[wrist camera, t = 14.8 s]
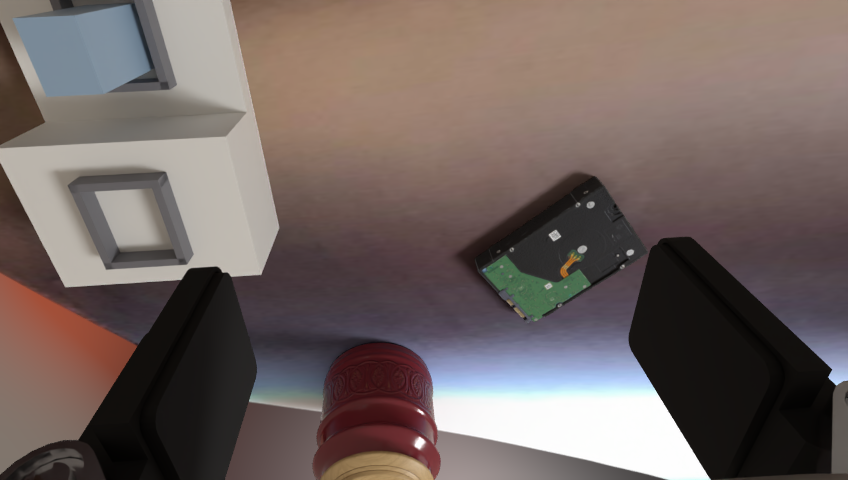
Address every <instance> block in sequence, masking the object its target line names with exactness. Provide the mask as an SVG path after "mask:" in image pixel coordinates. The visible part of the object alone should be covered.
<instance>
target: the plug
mask: <svg viewBox="0 0 848 480" xmlns="http://www.w3.org/2000/svg"><path fill="white" fill-rule="evenodd" d="M12 19H13V21H14V23H15V26H16V28H17V30H18V32H19V35H20V37H21V39H22V42H23V44H24V46H25V49H26V51H27V53H28V55H29V58H30V60H31V62H32V65H33V67H34V69H35V71H36V74H37V76H38V78H39V81H40V83H41V85H42V87H43V90H44V92H45V94H46V97H55V96H76V95H96V94H105V93H107V92H109V91H111V90H113V89H115V88H117V87H119V86H121V85H123V84H125V83H127V82H129V81H131V80H133V79H135V78H137V77H139V76H141V75H143V74H145V73H147V72H149V71H151V70H153V69H155V67H154V64H153V60H152V57H151V54H150V51H149V48H148V44H147V41H146V38H145V35H144V31H143V28H142V25H141V22H140V19H139V15H138V12H137V9H136V6H135V3H119V4H95V5H83V6H77V7H72V8H66V9H61V10H55V11H49V12H44V13H38V14H33V15H27V16H21V17H16V18H12Z"/></svg>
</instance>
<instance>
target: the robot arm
mask: <svg viewBox="0 0 848 480" xmlns="http://www.w3.org/2000/svg"><path fill="white" fill-rule="evenodd" d="M629 345H630V348H631V351H632V352H633V354H634V356H635V357H636V359H637V361H638V362H639V364H640V365H641V367H642V369H643V370H644V372H645V374H646V375H647V377H648V379H649V380H650V382H651V383H652V385H653V387H654V388H655V390H656V392H657V393H658V395H659V396H660V398H661V400H662V401H663V403H664V405H665V406H666V408H667V410H668V411H669V413H670V414H671V416H672V418H673V419H674V421H675V423H676V424H677V426H678V428H679V429H680V431H681V432H682V434H683V436H684V437H685V439H686V441H687V442H688V444H689V445H690V447H691V449H692V450H693V452H694V454H695V455H696V457H697V459H698V460H699V462H700V463H701V465H702V467H703V468H704V470H705V472H706V473H707V475H708V476H709V478H710V479H711V480H848V381H843V382H842V383H840V384H838V385H837V386H836V385H835V384H834V383H833V382H832V381H831V380H830V379H829V378H828V376H829V374H830V372H831V371H832V369H831V368H830V367H829V366H828V365H827V364H826V363H825V362H824V361H823V360H822V359H821V358H819V357H818V356H817V355H816V354H815V353H814V352H813V351H812V350H811V349H810V348H809V347H808V346H807V345H806V344H805V343H803V342H802V341H801V340H800V339H799V338H798V337H797V336H796V335H795V334H794V333H793V332H792V331H791V330H790V329H789V328H788V327H786V326H785V325H784V324H783V323H782V322H781V321H780V320H779V319H778V318H777V317H776V316H775V315H774V314H773V313H772V312H770V311H769V310H768V309H767V308H766V307H765V306H764V305H763V304H762V303H761V302H760V301H759V300H758V299H757V298H756V297H754V296H753V295H752V294H751V293H750V292H749V291H748V290H747V289H746V288H745V287H744V286H743V285H742V284H741V283H740V282H739V281H737V280H736V279H735V278H734V277H733V276H732V275H731V274H730V273H729V272H728V271H727V270H726V269H725V268H724V267H723V266H721V265H720V264H719V263H718V262H717V261H716V260H715V259H714V258H713V257H712V256H711V255H710V254H709V253H708V252H707V251H706V250H704V249H703V248H702V247H701V246H700V245H699V244H698V243H697V242H696V241H695V240H694V239H692V238H691V237H675V238H663V239H661V240H660V241H659V242H658V244H657V245H654V246H653V247H652V248H651V250H650V253H649V257H648V261H647V265H646V269H645V273H644V277H643V281H642V285H641V289H640V293H639V297H638V301H637V305H636V309H635V313H634V316H633V320H632V324H631V328H630V332H629ZM256 373H257V365H256V360H255V356H254V353H253V350H252V346H251V343H250V339H249V336H248V333H247V329H246V326H245V322H244V319H243V316H242V312H241V309H240V306H239V302H238V299H237V295H236V292H235V289H234V285H233V282H232V278H231V276H230V274H229V273H227V272H224V273H222V270H221V269H220V268H219V267H217V266H214V267H198V268H190V269H188V270H187V272H186V273H185V275H184V276H183V278H182V280H181V281H180V283H179V284H178V286H177V288H176V289H175V291H174V292H173V294H172V296H171V297H170V299H169V300H168V302H167V304H166V305H165V307H164V308H163V310H162V312H161V313H160V315H159V317H158V318H157V320H156V321H155V323H154V325H153V326H152V328H151V329H150V331H149V333H147V334H146V335H145V336H144V337H143V339H142V340H141V342H140V343H139V345H138V346H137V348H136V350H135V351H134V353H133V354H132V356H131V358H130V359H129V361H128V362H127V364H126V366H125V367H124V369H123V370H122V372H121V373H120V375H119V377H118V378H117V380H116V382H115V383H114V384H113V386H112V388H111V389H110V391H109V392H108V394H107V396H106V397H105V399H104V400H103V402H102V404H101V405H100V407H99V408H98V410H97V411H96V413H95V415H94V416H93V418H92V420H91V421H90V423H89V424H88V426H87V427H86V429H85V430H84V432H83V434H82V435H81V437H80V438H79V440H63V441H59V442H55V443H50V444H47V445H45V446H43V447H41V448H38V449H36V450H34V451H31V452H30V453H28V454H27V455H25V456H23V457H22V458H20V459H19V460H17V461H15V462H14V463H13V464H12V465H11V466H10V467H8V468H7V469H6V470H5V471H4V472H3V473H2V474H0V480H225V477H226V474H227V470H228V467H229V464H230V461H231V457H232V454H233V451H234V448H235V444H236V441H237V438H238V434H239V431H240V428H241V424H242V421H243V418H244V415H245V412H246V408H247V405H248V402H249V399H250V395H251V392H252V389H253V386H254V382H255V379H256Z"/></svg>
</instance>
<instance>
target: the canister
mask: <svg viewBox="0 0 848 480" xmlns="http://www.w3.org/2000/svg"><path fill="white" fill-rule="evenodd" d="M432 397H433V386H432V379H431V376H430V373H429V371H428V368H427V366H426V364H425V363H424V361H423V360H422V359H421V358H420V357H419V356H418V355H417V354H416V353H414V352H413V351H411V350H409V349H407V348H405V347H402V346H399V345H395V344H390V343H369V344H364V345H360V346H357V347H354V348H352V349H350V350H348V351H346V352H344V353H343V354H342V355H340V356H339V357H338V358H337V359H336V360H335V361H334V362H333V364H332V365H331V367H330V369H329V372H328V374H327V376H326V379H325V383H324V389H323V398H324V400H323V407H322V415H321V421H320V426H319V428H318V432H317V444H318V448H319V449H318V450H317V452H316V454H315V456H314V459H313V473H314V476H315V478H316V480H435V478H436V477H437V475H438V473H439V470H440V465H441V460H440V455H439V452H438V450H437V448H436V446H435V445H436V442H437V438H438V437H437V436H438V430H437V426H436V423H435V419H434V409H433V399H432Z"/></svg>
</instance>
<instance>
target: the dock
mask: <svg viewBox="0 0 848 480" xmlns="http://www.w3.org/2000/svg"><path fill="white" fill-rule="evenodd" d="M119 3H135V6H136V9H137V12H138V15H139V19H140V22H141V25H142V28H143V31H144V35H145V38H146V41H147V44H148V48H149V51H150V54H151V57H152V60H153V64H154V67H155V69H153V70H151V71H149V72H147V73H145V74H143V75H141V76H139V77H137V78H135V79H133V80H131V81H129V82H127V83H125V84H123V85H121V86H119V87H117V88H115V89H113V90H111V91H109V92H107V93H105V94H96V95H76V96H55V97H46V94H45V92H44V90H43V87H42V85H41V83H40V81H39V78H38V76H37V74H36V71H35V69H34V67H33V65H32V62H31V60H30V58H29V55H28V53H27V51H26V49H25V46H24V44H23V42H22V39H21V37H20V35H19V32H18V30H17V28H16V26H15V23H14V21H13V19H12V18H16V17H21V16H27V15H33V14H38V13H44V12H49V11H55V10H61V9H66V8H72V7H77V6H83V5H95V4H119ZM0 22H1V25H2V27H3V29H4V31H5V34H6V36H7V38H8V40H9V42H10V45H11V47H12V49H13V51H14V54H15V56H16V58H17V60H18V62H19V65H20V67H21V69H22V71H23V74H24V76H25V78H26V80H27V82H28V85H29V87H30V89H31V91H32V94H33V96H34V98H35V100H36V102H37V105H38V107H39V109H40V111H41V114H42V116H43V118H44V120H45V123H43V124H41V125H39V126H37V127H35V128H33V129H31V130H29V131H27V132H25V133H23V134H21V135H19V136H17V137H15V138H13V139H11V140H9V141H7V142H5V143H3V144H1V145H0V163H1V165H2V167H3V169H4V171H5V173H6V175H7V176H8V178H9V180H10V182H11V184H12V186H13V188H14V190H15V192H16V194H17V196H18V198H19V199H20V201H21V203H22V205H23V207H24V209H25V211H26V213H27V215H28V217H29V219H30V220H31V222H32V224H33V226H34V228H35V230H36V232H37V234H38V236H39V238H40V240H41V242H42V243H43V245H44V247H45V249H46V251H47V253H48V255H49V257H50V259H51V261H52V263H53V265H54V266H55V268H56V270H57V272H58V274H59V276H60V278H61V280H62V282H63V284H64V286H65V287H76V286H91V285H107V284H123V283H138V282H154V281H170V280H182V278H183V276H184V275H185V273H186V272H187V270H188V269H190V268H198V267H214V266H217V267H219V268H220V269H221V270H222V273H224V272H227V273H229V274H230V276H231V277H232V276H248V275H261V274H262V271H263V268H264V266H265V263H266V261H267V258H268V256H269V253H270V250H271V248H272V245H273V243H274V240H275V238H276V235H277V232H278V230H279V224H278V219H277V215H276V210H275V205H274V201H273V196H272V191H271V187H270V182H269V178H268V173H267V168H266V164H265V159H264V155H263V150H262V145H261V141H260V136H259V132H258V127H257V122H256V118H255V113H254V109H253V104H252V99H251V95H250V90H249V85H248V81H247V76H246V72H245V67H244V62H243V58H242V53H241V49H240V44H239V39H238V35H237V30H236V26H235V21H234V16H233V12H232V7H231V3H230V0H0Z"/></svg>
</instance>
